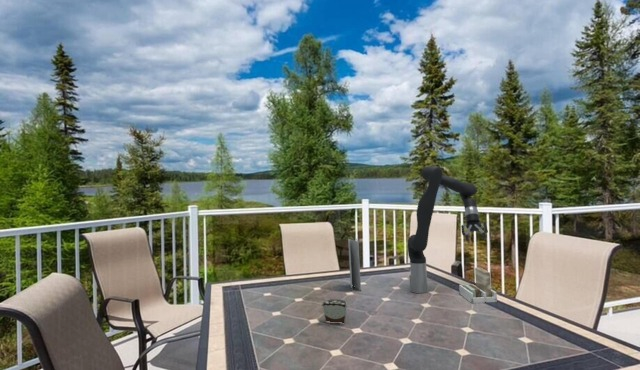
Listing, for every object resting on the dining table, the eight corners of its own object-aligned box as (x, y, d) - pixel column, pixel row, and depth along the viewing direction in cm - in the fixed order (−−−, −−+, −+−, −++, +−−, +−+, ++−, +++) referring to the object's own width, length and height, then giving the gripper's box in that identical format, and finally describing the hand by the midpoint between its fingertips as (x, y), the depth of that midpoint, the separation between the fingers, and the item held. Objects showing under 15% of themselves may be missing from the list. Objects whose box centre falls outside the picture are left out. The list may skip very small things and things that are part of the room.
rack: (471, 303, 194) (471, 293, 194) (459, 293, 211) (459, 284, 211) (496, 301, 194) (496, 292, 194) (482, 292, 211) (482, 283, 211)
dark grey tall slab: (361, 290, 226) (358, 241, 226) (351, 291, 226) (349, 242, 226) (359, 284, 240) (356, 238, 240) (350, 285, 240) (348, 238, 240)
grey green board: (485, 301, 196) (484, 272, 196) (476, 294, 208) (475, 267, 208) (491, 300, 196) (490, 272, 196) (481, 294, 208) (480, 267, 208)
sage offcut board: (472, 301, 197) (471, 289, 197) (464, 295, 207) (464, 284, 207) (476, 301, 197) (475, 289, 197) (468, 295, 207) (467, 284, 207)
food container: (351, 320, 178) (350, 299, 178) (347, 324, 172) (346, 303, 172) (326, 318, 182) (325, 298, 182) (322, 322, 176) (321, 301, 176)
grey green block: (476, 301, 197) (476, 289, 197) (469, 295, 207) (468, 284, 207) (480, 300, 197) (479, 289, 197) (472, 295, 207) (472, 284, 207)
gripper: (458, 214, 226) (462, 240, 218) (483, 211, 220) (488, 237, 212) (460, 219, 232) (464, 244, 224) (485, 215, 226) (489, 241, 218)
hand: (476, 240), depth 218 cm, fingers open, 8 cm apart
